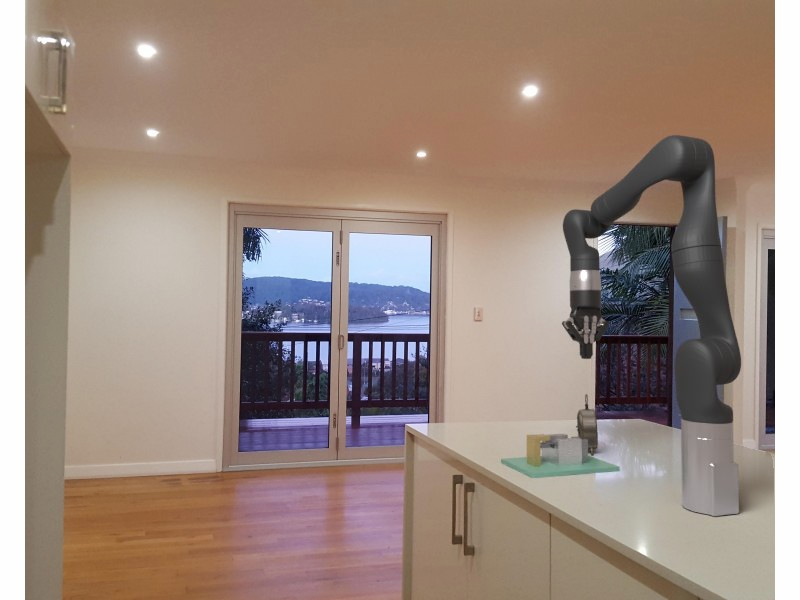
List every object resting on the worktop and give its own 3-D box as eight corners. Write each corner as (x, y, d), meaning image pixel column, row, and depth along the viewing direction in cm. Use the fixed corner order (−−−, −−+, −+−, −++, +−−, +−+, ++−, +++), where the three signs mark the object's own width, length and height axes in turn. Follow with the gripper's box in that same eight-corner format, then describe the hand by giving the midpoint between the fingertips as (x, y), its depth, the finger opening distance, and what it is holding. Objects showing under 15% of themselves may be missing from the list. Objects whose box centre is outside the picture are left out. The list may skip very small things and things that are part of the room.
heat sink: (592, 464, 154) (592, 438, 154) (558, 466, 151) (558, 440, 151) (573, 457, 162) (573, 432, 162) (541, 459, 159) (541, 434, 159)
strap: (584, 446, 156) (584, 442, 156) (541, 448, 153) (541, 444, 153) (577, 444, 159) (577, 440, 159) (534, 446, 156) (534, 442, 156)
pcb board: (619, 470, 152) (619, 466, 152) (532, 477, 145) (532, 473, 145) (581, 456, 167) (581, 453, 167) (501, 462, 160) (501, 458, 160)
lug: (551, 465, 153) (551, 436, 153) (534, 466, 152) (534, 437, 152) (542, 461, 157) (542, 433, 157) (526, 462, 155) (526, 434, 156)
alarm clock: (599, 456, 167) (598, 396, 168) (578, 455, 168) (577, 395, 169) (594, 448, 178) (594, 391, 179) (575, 447, 179) (575, 391, 180)
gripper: (571, 287, 149) (572, 359, 149) (616, 288, 154) (618, 358, 153) (554, 289, 157) (555, 358, 156) (597, 290, 161) (599, 357, 160)
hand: (586, 358), depth 154 cm, fingers closed
